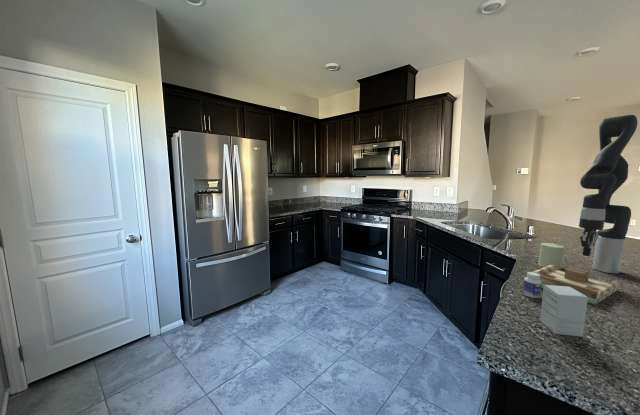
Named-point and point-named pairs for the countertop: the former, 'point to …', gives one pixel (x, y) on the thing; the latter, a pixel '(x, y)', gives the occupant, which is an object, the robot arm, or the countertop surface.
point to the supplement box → (563, 310)
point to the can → (551, 255)
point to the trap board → (577, 284)
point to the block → (576, 274)
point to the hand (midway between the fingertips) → (586, 255)
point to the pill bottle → (532, 285)
